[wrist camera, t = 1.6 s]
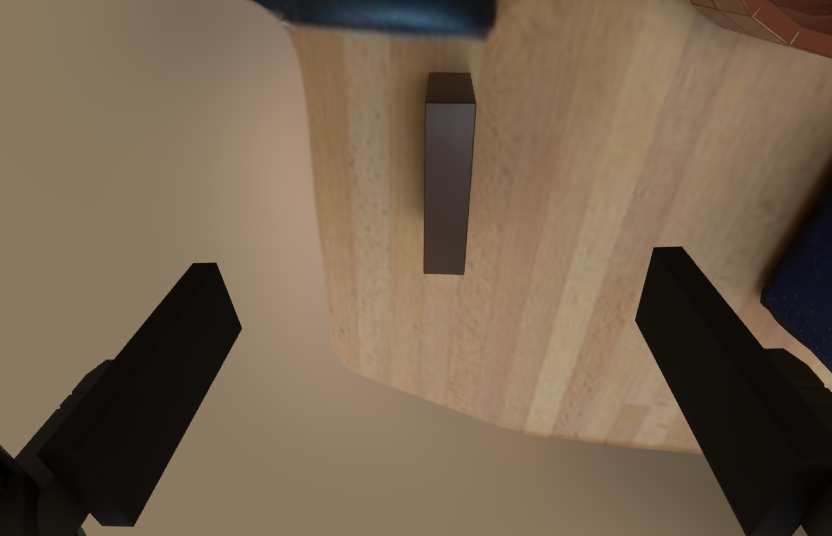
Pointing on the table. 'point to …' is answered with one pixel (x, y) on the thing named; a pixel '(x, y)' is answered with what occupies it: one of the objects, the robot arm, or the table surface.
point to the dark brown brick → (447, 170)
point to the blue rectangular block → (807, 283)
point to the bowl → (776, 21)
